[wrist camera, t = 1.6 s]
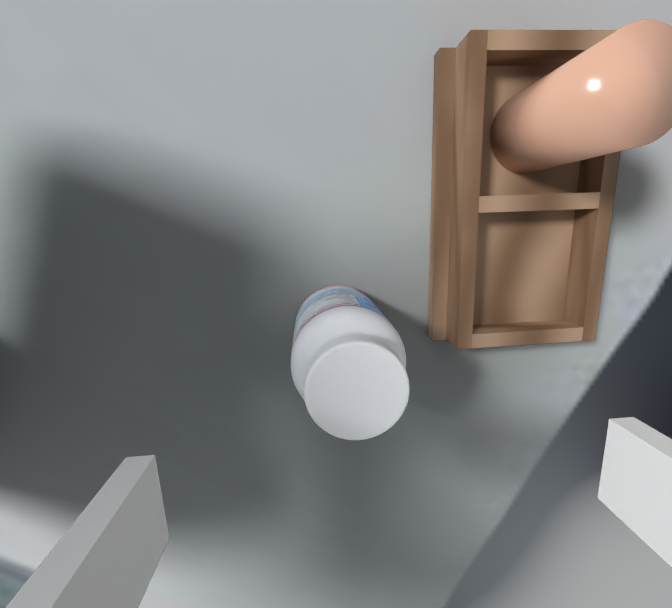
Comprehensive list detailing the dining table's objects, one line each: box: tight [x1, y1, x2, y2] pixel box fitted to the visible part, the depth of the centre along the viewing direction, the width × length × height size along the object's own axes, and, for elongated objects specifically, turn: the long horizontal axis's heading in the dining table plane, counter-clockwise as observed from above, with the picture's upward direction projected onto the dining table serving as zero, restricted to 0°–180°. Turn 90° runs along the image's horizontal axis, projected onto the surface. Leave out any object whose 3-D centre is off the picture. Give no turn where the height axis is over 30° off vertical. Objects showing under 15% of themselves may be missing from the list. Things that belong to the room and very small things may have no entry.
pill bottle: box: [291, 285, 410, 440], centre depth 20 cm, size 6×6×11 cm
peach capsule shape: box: [490, 20, 672, 174], centre depth 19 cm, size 5×5×8 cm
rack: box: [428, 30, 620, 349], centre depth 23 cm, size 12×19×3 cm, turn 2°
